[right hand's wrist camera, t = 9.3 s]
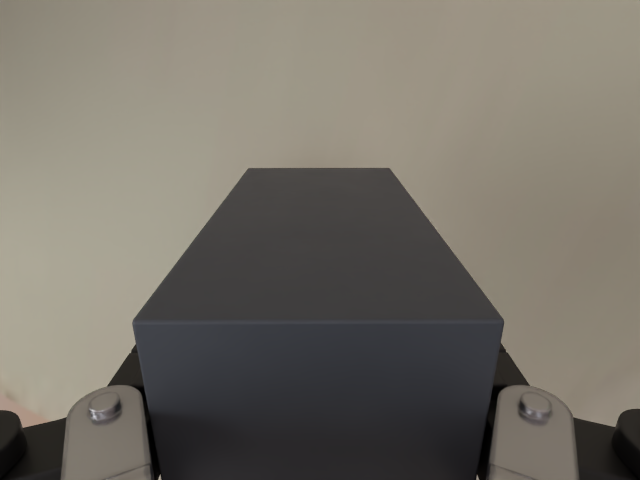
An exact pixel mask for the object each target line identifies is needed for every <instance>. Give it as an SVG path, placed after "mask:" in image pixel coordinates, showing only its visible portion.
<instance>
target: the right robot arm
mask: <svg viewBox="0 0 640 480" xmlns="http://www.w3.org/2000/svg"><path fill="white" fill-rule="evenodd" d="M477 475H478V478H479V480H640V409H631V410H627V411H624V412H623V413H621V414H620V416H619V418H618V421H617V424H616V427H611V426H607V425H603V424H598V423H594V422H589V421H585V420H581V419H577V418H573V415H572V413H571V411H570V410H569V408H568V407H567V406H566V405H565V404H564V403H563V402H562V401H561V400H560V399H559V398H557V397H556V396H554V395H552V394H551V393H549V392H547V391H544V390H542V389H539V388H536V387H532V386H530V385H529V384H528V382H527V381H526V379H525V378H524V376H523V375H522V373H521V372H520V370H519V369H518V367H517V366H516V365H515V363H514V362H513V360H512V359H511V357H510V356H509V354H508V353H506V350H505V348H504V347H503V345H502V344H501V343H500V349H499V354H498V360H497V365H496V371H495V376H494V382H493V388H492V393H491V399H490V404H489V410H488V415H487V421H486V427H485V432H484V438H483V443H482V449H481V454H480V460H479V466H478V471H477ZM159 476H160V469H159V463H158V458H157V453H156V447H155V442H154V437H153V431H152V426H151V421H150V415H149V410H148V405H147V399H146V394H145V389H144V383H143V378H142V372H141V367H140V362H139V356H138V351H137V346H136V345H135V346H134V348H133V349H132V351H131V353H129V355H128V356H127V358H126V359H125V361H124V362H123V364H122V365H121V367H120V368H119V370H118V371H117V373H116V374H115V376H114V377H113V378H112V380H111V381H110V383H109V384H108V386H107V387H104V388H101V389H98V390H96V391H93V392H91V393H89V394H87V395H86V396H84V397H83V398H81V399H80V400H79V401H78V402H77V403H76V404H75V405H74V406H73V407H72V408H71V409H70V411H69V413H68V415H67V417H66V418H63V419H59V420H56V421H51V422H47V423H43V424H39V425H34V426H30V427H25V428H22V424H21V421H20V419H19V417H18V415H16V414H15V413H13V412H11V411H4V410H0V480H158V478H159Z"/></svg>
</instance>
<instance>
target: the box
mask: <svg viewBox="0 0 640 480" xmlns="http://www.w3.org/2000/svg"><path fill="white" fill-rule="evenodd" d="M503 326H504V320H503V318H502V317H501V315H500V314H499V313H498V311H497V310H496V309H495V308H494V306H493V305H492V304H491V302H490V301H489V300H488V298H487V297H486V296H485V294H484V293H483V292H482V290H481V289H480V288H479V286H478V285H477V284H476V282H475V281H474V280H473V278H472V277H471V276H470V274H469V273H468V272H467V270H466V269H465V268H464V266H463V265H462V264H461V262H460V261H459V260H458V258H457V257H456V256H455V254H454V253H453V252H452V250H451V249H450V248H449V246H448V245H447V244H446V242H445V241H444V240H443V238H442V237H441V236H440V234H439V233H438V232H437V231H436V229H435V228H434V227H433V225H432V224H431V223H430V221H429V220H428V219H427V217H426V216H425V215H424V213H423V212H422V211H421V209H420V208H419V207H418V205H417V204H416V203H415V201H414V200H413V199H412V197H411V196H410V195H409V193H408V192H407V191H406V189H405V188H404V187H403V185H402V184H401V183H400V181H399V180H398V179H397V177H396V176H395V175H394V173H393V172H392V171H391V169H390V168H249V169H248V170H247V171H246V172H245V174H244V175H243V176H242V178H241V179H240V180H239V181H238V183H237V184H236V185H235V187H234V188H233V189H232V191H231V192H230V193H229V195H228V196H227V197H226V199H225V200H224V201H223V203H222V204H221V205H220V206H219V208H218V209H217V210H216V212H215V213H214V214H213V216H212V217H211V218H210V220H209V221H208V222H207V224H206V225H205V226H204V228H203V229H202V230H201V231H200V233H199V234H198V235H197V237H196V238H195V239H194V241H193V242H192V243H191V245H190V246H189V247H188V249H187V250H186V251H185V253H184V254H183V255H182V256H181V258H180V259H179V260H178V262H177V263H176V264H175V266H174V267H173V268H172V270H171V271H170V272H169V274H168V275H167V276H166V277H165V279H164V280H163V281H162V283H161V284H160V285H159V287H158V288H157V289H156V291H155V292H154V293H153V295H152V296H151V297H150V299H149V300H148V301H147V302H146V304H145V305H144V306H143V308H142V309H141V310H140V312H139V313H138V314H137V316H136V317H135V318H134V320H133V330H134V335H135V340H136V346H137V351H138V356H139V362H140V367H141V372H142V378H143V383H144V389H145V394H146V399H147V405H148V410H149V415H150V421H151V426H152V431H153V437H154V442H155V447H156V453H157V458H158V463H159V469H160V474H161V479H162V480H476V477H477V471H478V466H479V460H480V454H481V449H482V443H483V438H484V432H485V427H486V421H487V415H488V410H489V404H490V399H491V393H492V388H493V382H494V376H495V371H496V365H497V360H498V354H499V349H500V343H501V337H502V332H503Z"/></svg>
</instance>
